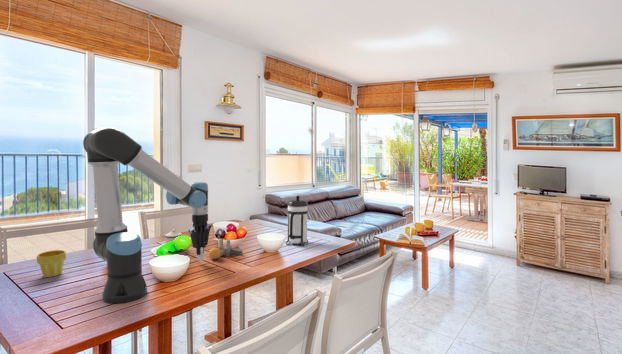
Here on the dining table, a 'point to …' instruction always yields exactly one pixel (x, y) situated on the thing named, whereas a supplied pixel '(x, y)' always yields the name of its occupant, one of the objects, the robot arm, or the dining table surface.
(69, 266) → the dining table surface
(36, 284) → the dining table surface
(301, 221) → the coffee press
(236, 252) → the back wall
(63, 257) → the plant pot
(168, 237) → the teacup with lid
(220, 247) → the back pin left
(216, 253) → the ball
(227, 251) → the back pin right
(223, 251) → the front pin
